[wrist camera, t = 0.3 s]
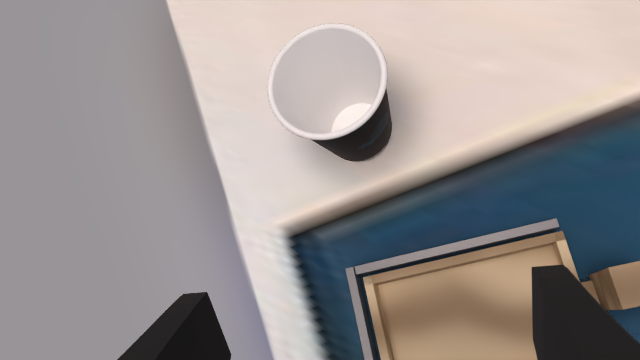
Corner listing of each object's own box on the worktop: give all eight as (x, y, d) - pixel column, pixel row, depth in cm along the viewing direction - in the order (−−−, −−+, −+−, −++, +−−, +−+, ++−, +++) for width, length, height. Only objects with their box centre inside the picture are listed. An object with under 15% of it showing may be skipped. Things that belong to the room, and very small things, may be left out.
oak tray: (665, 348, 35) (702, 355, 29) (395, 397, 39) (378, 412, 33) (618, 221, 38) (644, 203, 32) (368, 279, 42) (349, 273, 36)
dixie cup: (411, 176, 43) (388, 133, 32) (314, 182, 45) (264, 144, 35) (408, 82, 45) (385, 13, 34) (315, 93, 47) (267, 30, 36)
